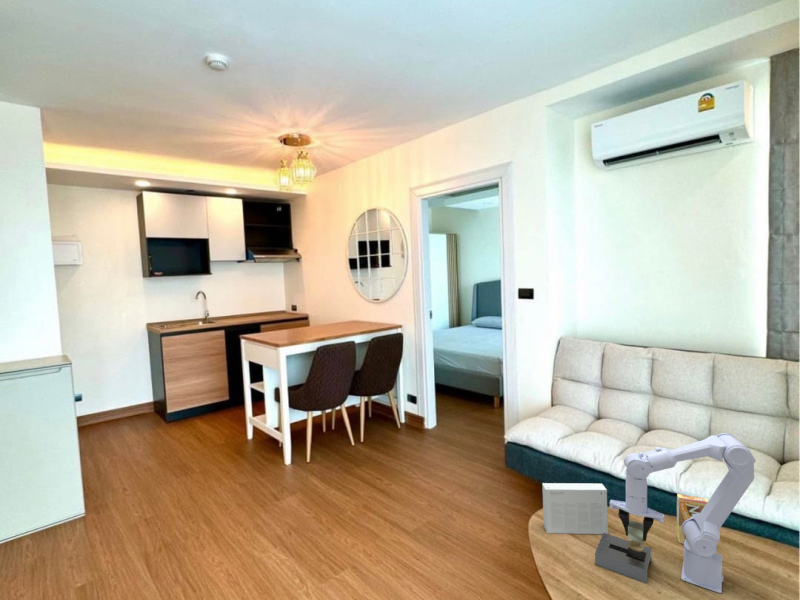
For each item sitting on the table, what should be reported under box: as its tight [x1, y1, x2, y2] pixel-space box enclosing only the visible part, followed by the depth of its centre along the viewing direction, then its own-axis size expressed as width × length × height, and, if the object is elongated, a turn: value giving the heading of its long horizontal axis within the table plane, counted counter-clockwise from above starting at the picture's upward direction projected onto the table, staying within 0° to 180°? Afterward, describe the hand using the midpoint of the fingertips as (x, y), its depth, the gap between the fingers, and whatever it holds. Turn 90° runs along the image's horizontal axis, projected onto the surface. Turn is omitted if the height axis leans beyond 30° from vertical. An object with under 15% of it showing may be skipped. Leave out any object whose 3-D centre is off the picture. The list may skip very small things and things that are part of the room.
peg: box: [627, 519, 645, 552], centre depth 129 cm, size 4×4×7 cm
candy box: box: [676, 493, 709, 545], centre depth 139 cm, size 9×4×15 cm, turn 67°
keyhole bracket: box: [594, 533, 653, 584], centre depth 131 cm, size 14×12×4 cm
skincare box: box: [542, 482, 609, 535], centre depth 149 cm, size 21×6×16 cm, turn 84°
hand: (636, 536), depth 129 cm, fingers closed on peg, 4 cm apart
